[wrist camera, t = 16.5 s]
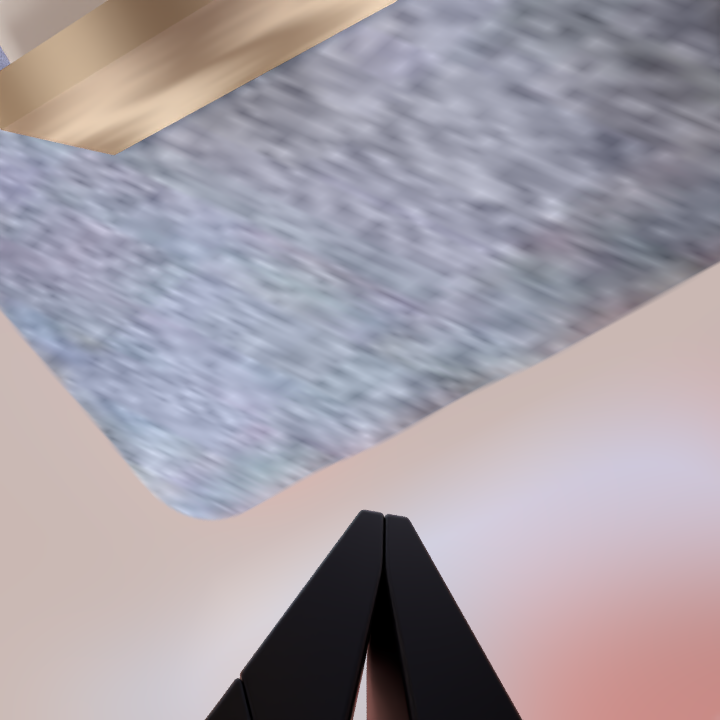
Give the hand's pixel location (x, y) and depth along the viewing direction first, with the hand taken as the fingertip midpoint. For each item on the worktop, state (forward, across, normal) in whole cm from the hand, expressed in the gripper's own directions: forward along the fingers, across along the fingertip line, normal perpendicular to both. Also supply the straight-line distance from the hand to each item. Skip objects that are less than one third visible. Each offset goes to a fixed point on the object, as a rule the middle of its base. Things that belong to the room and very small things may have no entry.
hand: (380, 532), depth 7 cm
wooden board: (+12, +7, -10) cm, 17 cm away
